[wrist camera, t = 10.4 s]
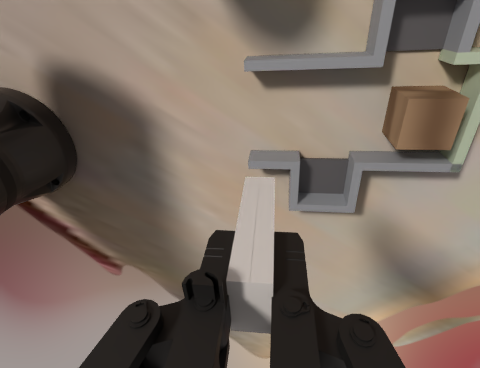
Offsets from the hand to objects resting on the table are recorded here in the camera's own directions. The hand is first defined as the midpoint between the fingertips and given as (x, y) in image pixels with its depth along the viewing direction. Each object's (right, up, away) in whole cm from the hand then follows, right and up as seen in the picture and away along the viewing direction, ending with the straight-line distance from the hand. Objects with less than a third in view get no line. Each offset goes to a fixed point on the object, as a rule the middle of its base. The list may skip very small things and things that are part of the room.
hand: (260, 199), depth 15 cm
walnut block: (+18, +9, +16) cm, 25 cm away
